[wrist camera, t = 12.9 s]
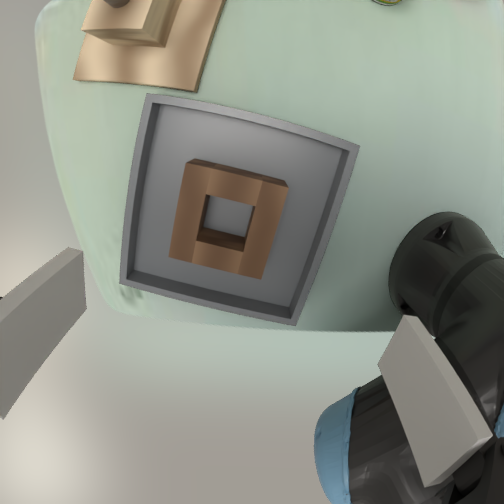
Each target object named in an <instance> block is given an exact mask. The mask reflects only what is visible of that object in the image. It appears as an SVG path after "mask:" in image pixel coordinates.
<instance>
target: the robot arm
mask: <svg viewBox="0 0 504 504" xmlns="http://www.w3.org/2000/svg"><path fill="white" fill-rule="evenodd" d="M389 291H390V295H391V298H392V301H393V303H394V305H395V306H396V308H397V309H398V311H399V312H400V313H401V315H402V316H403V317H402V319H401V321H400V323H399V325H398V327H397V329H396V331H395V333H394V335H393V337H392V339H391V341H390V343H389V345H388V347H387V348H386V350H385V352H384V354H383V356H382V357H381V359H380V361H379V363H378V367H379V369H380V371H381V374H382V375H381V376H379V377H378V378H376V379H374V380H372V381H371V382H369V383H367V384H366V385H364V386H362V387H358V388H356V389H355V390H353V391H352V393H351V394H349V395H348V396H346V397H344V398H343V399H341V400H339V401H337V402H336V403H334V404H332V405H330V406H329V407H328V408H327V409H326V410H324V412H323V413H322V414H321V416H320V418H319V420H318V422H317V425H316V429H315V436H314V437H315V438H314V455H315V463H316V468H317V473H318V476H319V480H320V483H321V486H322V488H323V490H324V493H325V494H326V496H327V498H328V499H329V501H330V502H331V503H332V504H504V258H502V257H501V256H499V254H498V253H497V251H496V250H495V248H494V247H493V245H492V244H491V242H490V241H489V239H488V238H487V236H486V235H485V233H484V232H483V230H482V229H481V228H480V227H479V226H478V225H477V224H476V223H475V222H473V221H472V220H470V219H468V218H467V217H465V216H463V215H461V214H458V213H454V212H442V213H438V214H435V215H432V216H430V217H428V218H426V219H425V220H423V221H422V222H420V223H419V224H418V225H416V226H415V227H414V228H413V229H412V230H411V231H410V232H409V234H408V235H407V236H406V237H405V239H404V240H403V241H402V243H401V244H400V246H399V248H398V250H397V252H396V254H395V256H394V259H393V262H392V265H391V269H390V274H389ZM86 309H87V308H86V297H85V283H84V262H83V251H81V250H77V249H73V248H69V247H68V248H67V249H65V250H64V251H62V252H61V253H60V254H58V255H57V256H55V257H54V258H53V259H51V260H50V261H49V262H47V263H46V264H45V265H43V266H42V267H41V268H39V269H38V270H37V271H35V272H34V273H33V274H32V275H30V276H29V277H28V278H26V279H25V280H24V281H23V282H21V283H20V284H19V285H18V286H16V287H15V288H14V289H13V290H11V291H10V292H9V293H8V294H7V295H5V296H4V297H0V418H2V419H4V418H5V417H6V415H7V413H8V412H9V410H10V409H11V407H12V406H13V405H14V403H15V402H16V400H17V399H18V397H19V396H20V394H21V393H22V391H23V390H24V389H25V387H26V386H27V384H28V383H29V382H30V380H31V379H32V377H33V376H34V374H35V373H36V372H37V371H38V369H39V368H40V367H41V365H42V364H43V363H44V361H45V360H46V359H47V357H48V356H49V355H50V354H51V352H52V351H53V350H54V348H55V347H56V346H57V345H58V343H59V342H60V341H61V339H62V338H63V337H64V336H65V334H66V333H67V332H68V331H69V330H70V328H71V327H72V326H73V325H74V323H75V322H76V321H77V320H78V319H79V318H80V316H81V315H82V314H83V313H84V312H85V310H86ZM431 335H432V336H434V337H435V339H433V338H432V337H431Z"/></svg>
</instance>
